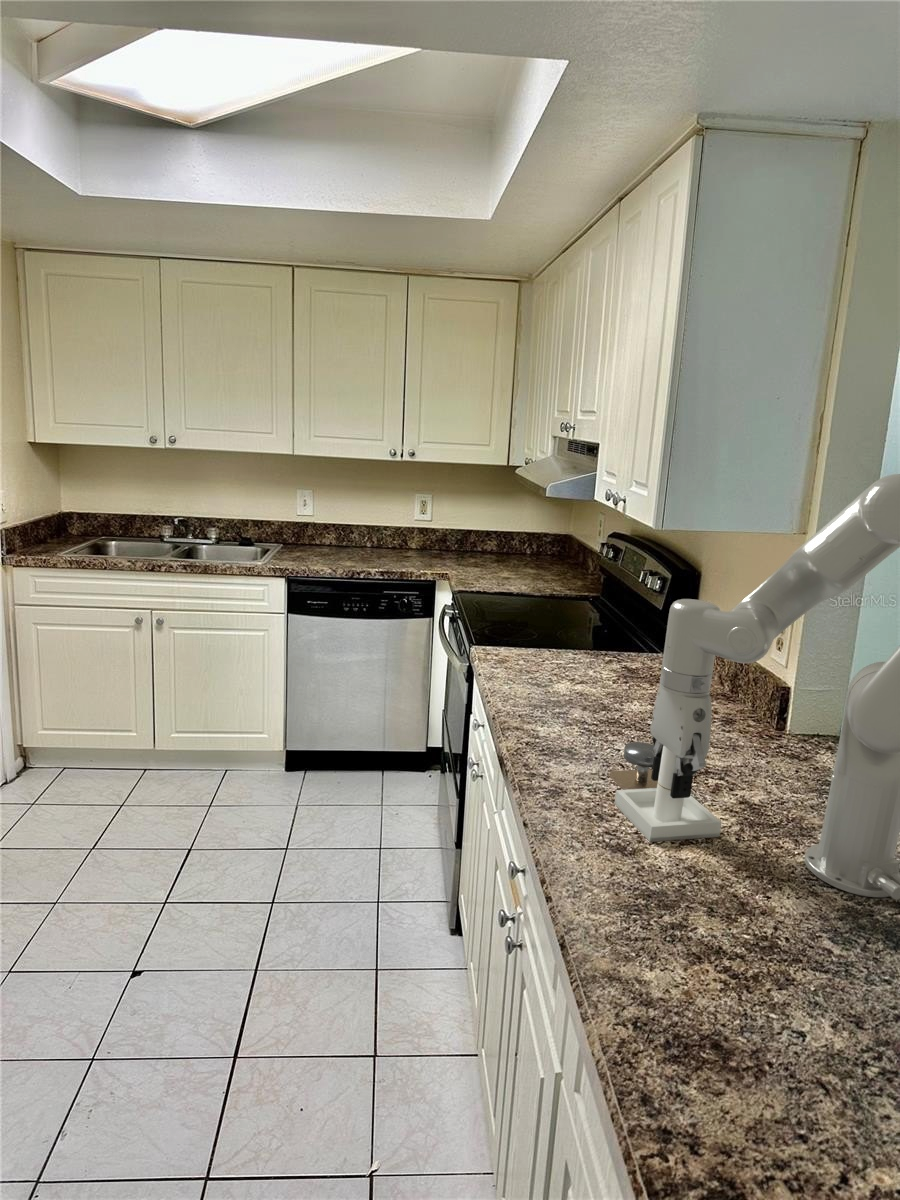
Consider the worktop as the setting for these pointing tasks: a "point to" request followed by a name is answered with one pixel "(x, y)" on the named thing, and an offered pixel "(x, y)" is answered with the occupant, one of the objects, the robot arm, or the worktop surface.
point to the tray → (691, 825)
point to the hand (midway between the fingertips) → (670, 787)
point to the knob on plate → (644, 760)
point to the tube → (667, 790)
